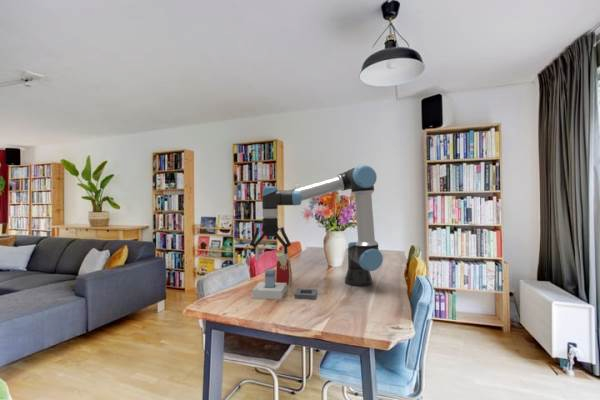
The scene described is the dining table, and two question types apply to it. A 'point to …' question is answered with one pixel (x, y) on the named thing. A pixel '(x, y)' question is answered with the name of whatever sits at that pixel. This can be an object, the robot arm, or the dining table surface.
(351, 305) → the dining table surface
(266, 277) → the plug
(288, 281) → the milk carton
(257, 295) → the port
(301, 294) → the dark grey square base
